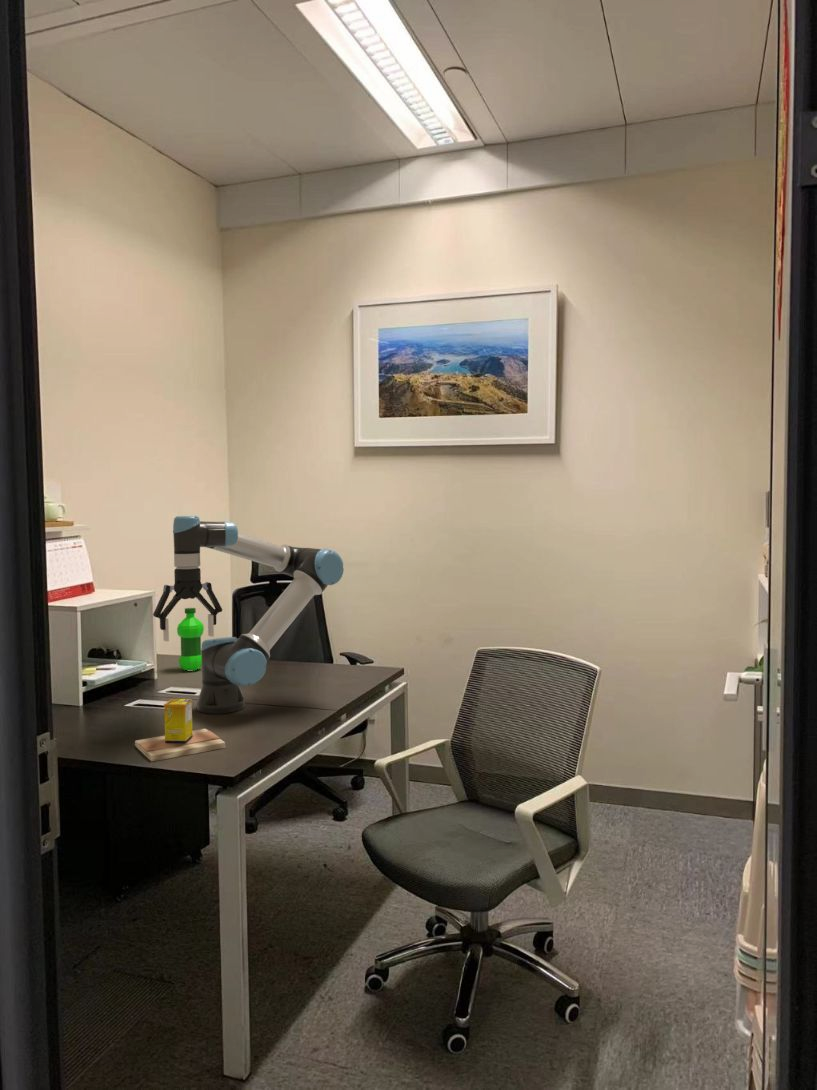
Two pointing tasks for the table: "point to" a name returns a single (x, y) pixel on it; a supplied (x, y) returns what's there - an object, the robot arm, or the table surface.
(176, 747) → the board
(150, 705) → the table surface
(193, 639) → the plastic bottle
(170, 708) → the supplement box
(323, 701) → the table surface
